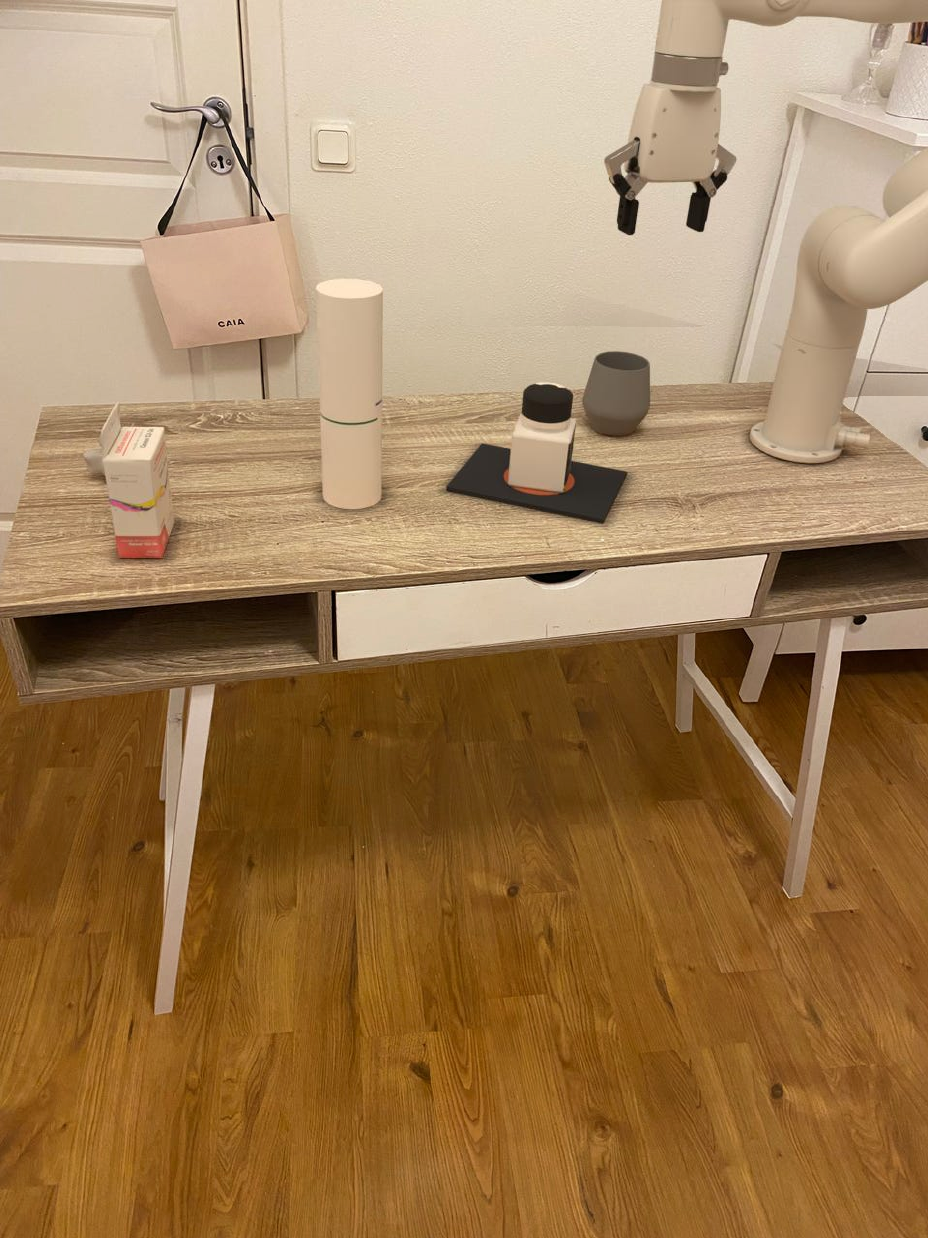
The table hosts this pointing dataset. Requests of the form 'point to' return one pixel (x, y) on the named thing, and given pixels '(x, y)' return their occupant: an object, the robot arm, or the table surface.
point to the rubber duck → (95, 458)
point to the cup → (617, 393)
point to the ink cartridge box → (137, 487)
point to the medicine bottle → (543, 439)
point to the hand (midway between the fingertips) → (660, 230)
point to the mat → (581, 499)
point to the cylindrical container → (350, 391)
